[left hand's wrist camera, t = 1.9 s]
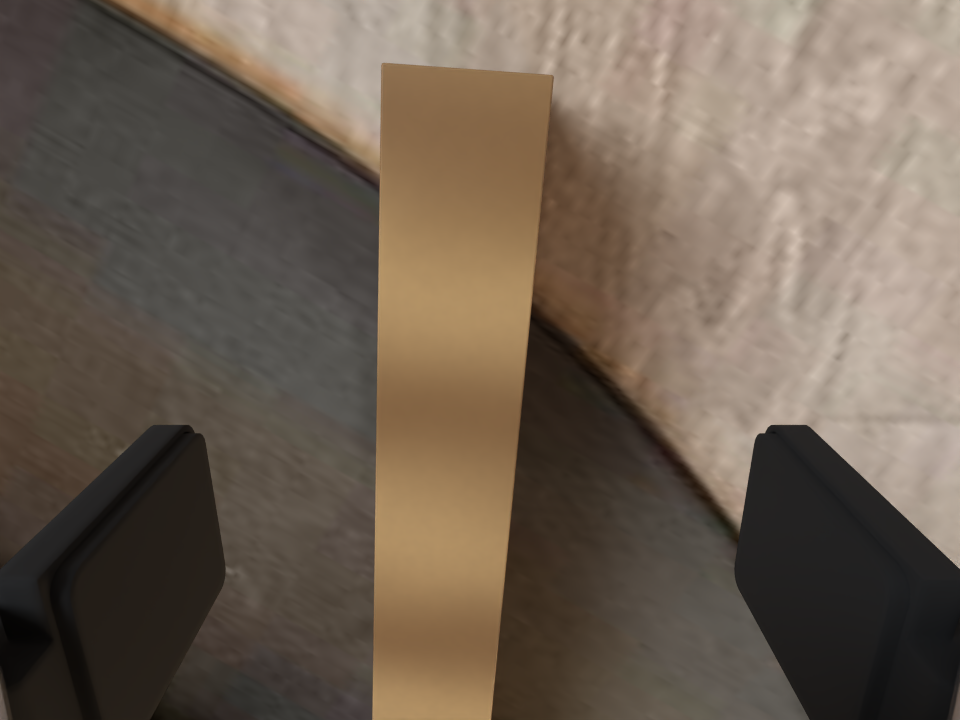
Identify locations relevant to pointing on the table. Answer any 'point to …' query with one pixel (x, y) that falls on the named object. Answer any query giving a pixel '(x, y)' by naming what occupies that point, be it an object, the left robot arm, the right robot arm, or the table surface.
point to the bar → (450, 374)
